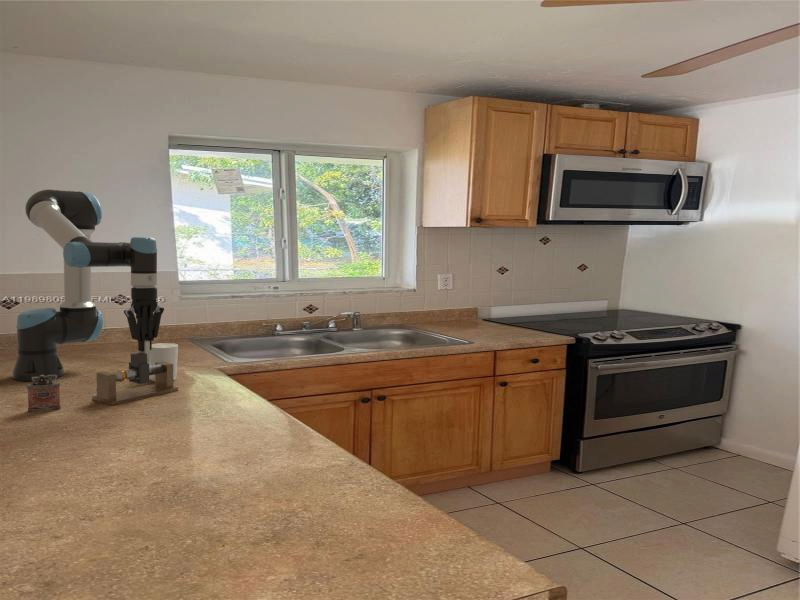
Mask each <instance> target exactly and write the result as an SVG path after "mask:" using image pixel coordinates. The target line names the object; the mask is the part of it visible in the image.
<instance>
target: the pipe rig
mask: <svg viewBox="0 0 800 600" xmlns="http://www.w3.org/2000/svg"><path fill="white" fill-rule="evenodd" d="M95 374H96V395H94V396H92V397H91V400H92V401H95V402H98V403H102V404H105V405H109V406H116V405H122V404H126V403H128V402H134V401H138V400H142V399H145V398H146V399H147V398H151V397H155V396H160V395H165V394H168V393H173V392H177V391H179V386H178V387H177V386H174V380H173V364H172V363H167V362H162V361H161V362H155V365H152V366H150V365H149V376H151V375H155V381H154V382H155V383H153V384H148V385H141V386H137V387H134V388H128V389H123V390H118V391H117V382H118V383H122V382H126V381H129V379H134V378H139V368H135V369H129V368H128V369H125V370H124V369H121V370H117V371H114V372H109V371H99V372H96V373H95Z"/></svg>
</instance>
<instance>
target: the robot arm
mask: <svg viewBox="0 0 800 600" xmlns="http://www.w3.org/2000/svg"><path fill="white" fill-rule="evenodd" d="M25 203H26V204H25V215H26V216H27V219H28V220H29V221H30V222H31V224H33V225H34V226H35V227H37V228H41V229H43V230H44V232H45V233H47V235H49V236H50V238H52V240H53V241H55V242H56V243H57V245H58V246H60V247H61V249H62V250H63V251H62V256H63V287H64V288H63V291H64V292H63V293H64V301H63V302H62V303H61V304H59V310H58V311H57V310H56V308H53V307H46V308H45V307H44V308H35V309H29V310H26V311H23V312H20V313H19V314H18V315H17V318H16V319H17V321H16V330H17V331H16V333H17V354H18V355H17V358H16V361H15V364H14V367H13V371H12V379H13V380H15V381H20V382H21V381H22V382H32V377H39V376H40V375H44V376H47V375H57V378H60V377H62V376H63V375H64V367H63V364H62V362H61V360H60V357H59V355H58V345H65V344H72V343H73V344H74V343H75V344H76V343H86V342H89V341H95V340H96V339H98V337H99V336H100V335H101V333H102V330H103V326H104V317H103V313H102V312H101V311H100V310H99V309H98V308H97V305H96V303H94V302H93V301H92V268H96V267H97V268H98V267H103V268H104V267H115V268H116V267H130V285H131V286H132V287H131V288H130V296H131V297H130V298H131V301H132V302H131V304H130V308H128V309H125V310H124V311H123V314H124V315H125V317H126V318H127V324H128V328H129V331H130V335H131V339H132V340H135V341H137V343H138V344H137V347H138V352H140V353H145V354H147V363H148V362H149V361H150V350H151V349H152V342H153V341H154V340H155V339H156V338H157V337H158V334H159V329H160V325H161V319H162V316H163V313H164V311H165V308H164V307H161V306H159V305H158V302H157V298H158V288H157V287H156V286H157V285H158V273H157V271H158V249H157V248H158V247H157V240H156V238H154V237H143V236H139V237H137V236H133V237H131V238H130V242H125V241H124V242H122V241H121V242H96V241H92V240H91V235H92V234H93V233H94V232H95V231H96V226H98V225H100V223H101V222H102V218H103V213H102V206H101V203H100V202H99V199H98V198H97V197H96V195H94V194H93V193H90V192H85V191H81V190H80V191H74V190H59V189H42V190H38V191H37V192H34V193H33V194H32V195H31V196H30V197H29V198H28V200H27V201H26V202H25ZM149 363H150V362H149Z"/></svg>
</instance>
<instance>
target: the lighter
mask: <svg viewBox="0 0 800 600" xmlns="http://www.w3.org/2000/svg"><path fill="white" fill-rule="evenodd" d="M53 380H54V381H56V380H58V377H57V375H47V376H44V375H40V376H39V377H32V381H31V383H29V384H27V385H26V388H27V403H28V405H27V406H28V407H27V412H28V413H44V412H53V411H59V410H61V409H62V406H61V397H60V395H61V391H60V386H61V383H60V382H58V381H57V382H53Z"/></svg>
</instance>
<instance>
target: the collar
mask: <svg viewBox="0 0 800 600" xmlns="http://www.w3.org/2000/svg"><path fill="white" fill-rule="evenodd" d="M149 366H150V363H148V362H147V354H145V353H140V351H138V352H133V353H130V362H128V370H129V369H135V368H139V378H134V379H129V380H128V382H129V383H133V384H134V383H135V384H139V385H144V384H149V383H150V375H149Z"/></svg>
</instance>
